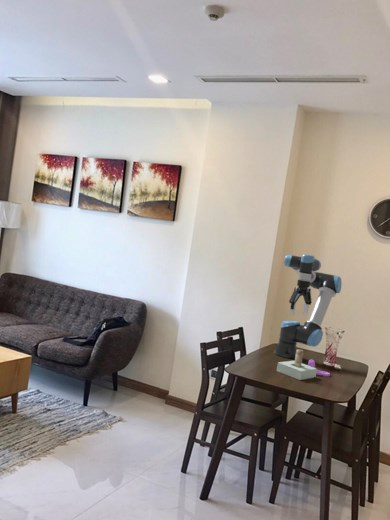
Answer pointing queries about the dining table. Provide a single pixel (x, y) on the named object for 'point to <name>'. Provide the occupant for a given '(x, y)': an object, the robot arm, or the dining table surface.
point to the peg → (298, 358)
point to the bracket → (312, 363)
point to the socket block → (296, 370)
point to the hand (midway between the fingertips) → (298, 314)
